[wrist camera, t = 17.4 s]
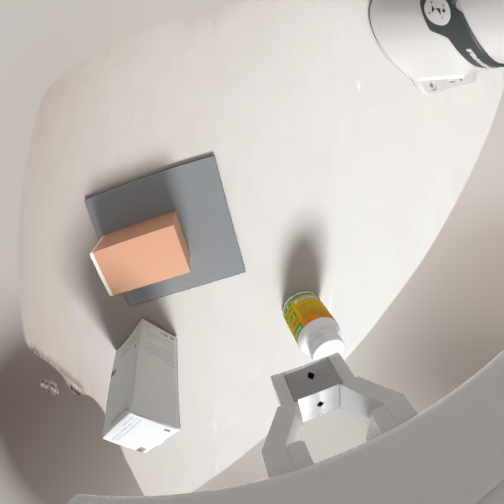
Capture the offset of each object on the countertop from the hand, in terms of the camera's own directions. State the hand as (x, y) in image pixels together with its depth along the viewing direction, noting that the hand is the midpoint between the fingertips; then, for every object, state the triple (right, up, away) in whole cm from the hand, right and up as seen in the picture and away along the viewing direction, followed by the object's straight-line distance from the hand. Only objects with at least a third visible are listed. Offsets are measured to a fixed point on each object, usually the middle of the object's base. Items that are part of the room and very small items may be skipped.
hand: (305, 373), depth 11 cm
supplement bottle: (+4, -2, +28) cm, 28 cm away
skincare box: (-17, -8, +25) cm, 32 cm away
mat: (-12, +7, +20) cm, 24 cm away
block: (-9, +6, +18) cm, 21 cm away
